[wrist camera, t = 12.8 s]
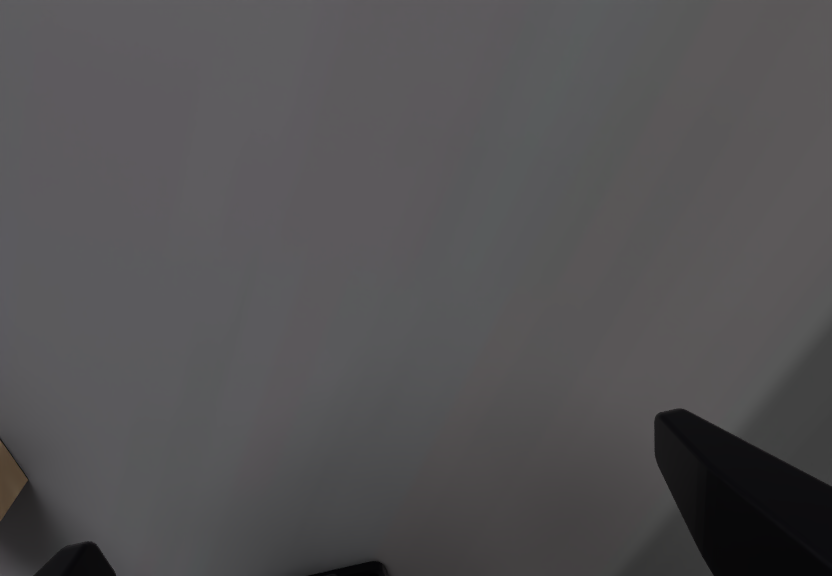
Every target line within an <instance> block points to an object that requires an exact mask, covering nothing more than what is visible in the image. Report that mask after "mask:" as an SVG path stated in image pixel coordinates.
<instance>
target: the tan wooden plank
mask: <svg viewBox="0 0 832 576" xmlns="http://www.w3.org/2000/svg"><path fill="white" fill-rule="evenodd" d="M27 481H28V479H27V478H26V476H25V475H24V473H23V472H22V470H21V469H20V468H19V466H18V465H17V463H16V462H15V460H14V459H13V457H12V456H11V455H10V453H9V452H8V450H7V449H6V447H5V446H4V445H3V443H2V442H1V440H0V521H1V520H2V518H3V517H4V515H5V514H6V512H7V511H8V509H9V508H10V506H11V505H12V503H13V502H14V500H15V499H16V497H17V496H18V494H19V493H20V491H21V490H22V488H23V487H24V485H25V484H26V482H27Z"/></svg>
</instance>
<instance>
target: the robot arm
mask: <svg viewBox="0 0 832 576" xmlns="http://www.w3.org/2000/svg"><path fill="white" fill-rule="evenodd" d="M654 436H655V457H656V461H657V464H658V467H659V469H660V471H661V473H662V475H663V477H664V479H665V481H666V483H667V485H668V487H669V489H670V492H671V494H672V496H673V498H674V500H675V502H676V504H677V506H678V508H679V510H680V512H681V514H682V516H683V518H684V520H685V523H686V525H687V527H688V529H689V531H690V533H691V535H692V537H693V539H694V541H695V543H696V545H697V547H698V549H699V551H700V553H701V555H702V557H703V558H704V560H705V562H706V564H707V565H708V567H709V569H710V570H711V572H712V574H713V575H714V576H832V486H830V485H828V484H826V483H824V482H822V481H820V480H818V479H817V478H815V477H813V476H811V475H809V474H807V473H805V472H803V471H801V470H799V469H798V468H796V467H794V466H792V465H790V464H788V463H786V462H784V461H782V460H780V459H778V458H777V457H775V456H773V455H771V454H769V453H767V452H765V451H763V450H761V449H759V448H758V447H756V446H754V445H752V444H750V443H748V442H746V441H744V440H742V439H740V438H739V437H737V436H735V435H733V434H731V433H729V432H727V431H725V430H723V429H721V428H719V427H718V426H716V425H714V424H712V423H710V422H708V421H706V420H704V419H702V418H700V417H699V416H697V415H695V414H693V413H691V412H689V411H687V410H685V409H674V410H669V411H665V412H660V413H658V414H657V415H656V417H655V421H654ZM34 576H116V573H115V572H114V570H113V568H112V567H111V565H110V564H109V562H108V561H107V559H106V558H105V556H104V555H103V553H102V552H101V550H100V549H99V547H98V546H97V545H96V544H95V543H93V542H89V541H87V542H82V543H78V544H73V545H69V546H66V547H64V548H62V549H61V550H60V551H59V552H58V553H57V554H56V555H55V556H54V557H52V558H51V559H50V560H49V561H48V562H47V563H46V564H45V565H44V566H43V567H42V568H41V569H40V570H39V571H38V572H37V573H36V574H35V575H34ZM309 576H387V574H386V571H385V568H384V566H383V564H382V563H380V562H376V561H372V562H367V563H362V564H358V565H354V566H349V567H345V568H340V569H336V570H332V571H327V572H323V573H318V574H314V575H309Z"/></svg>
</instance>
